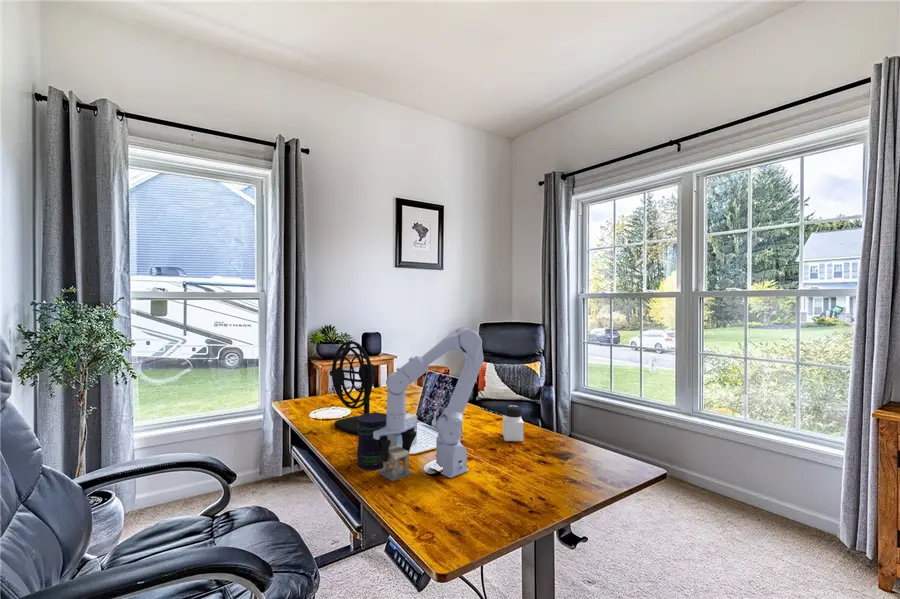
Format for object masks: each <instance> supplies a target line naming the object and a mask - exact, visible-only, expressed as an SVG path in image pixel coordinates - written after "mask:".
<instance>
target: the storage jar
mask: <svg viewBox="0 0 900 599" xmlns="http://www.w3.org/2000/svg"><path fill="white" fill-rule="evenodd" d="M358 416H359V417H358V426H357V430H358V432H357V436H358V437H357V438H358V439H357V440H358V444H357V449H356V460H357V463H356V465H357V468H358V467H359V469H360V470H363V471H379V470H382V469H383V462H384V461H382V458H381V454H380V450H379V447H378V445H377V443H376V441H375V439H374V438H373V432H374V431H377V430H380V429H382V428H384V427H386V419H387V413H381V412H369V413H366V414H364V413H363V414H360V415H358ZM386 438H387V439H388V436H387V437H386Z"/></svg>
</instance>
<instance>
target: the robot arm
mask: <svg viewBox="0 0 900 599" xmlns="http://www.w3.org/2000/svg"><path fill="white" fill-rule="evenodd" d="M482 345H483V340H482V338H481V336H480V334H479V333H478V332H477V330H474V329H471V328H468V327H464V326H461V327H458V328H456V329H455V331H453V332H450V333H449V334H447V335H446V336H445V337H444V338H443V339H442V340H440V341H439V342H438V343H437V344H436V345H434V346H433V347H431V349H429V350H428V351H427V352H425V354H423V355H422V356H420V355H419V356H418V355H417V356H416V355H415V356H414V357H413V356H410V357H409V358H408V362H406V363H404V365H402V366H401V367H396V369H395V370H396V371H393V372H391V373H389V374H388V376H387V378H386V380H385V385H386V387H387V392H386V394H387V396H386V414H387V419H386V427H384V428H382V429H380V430H377V431H374V432H373V438H374V439H375V441H376V443H377V445H378V447H379V450H380V454H381V458H382V461H384V462H388V450H389V445H390V442H391V441H390V440H388V439H387V438H386V437H387V436H390V435H394V434H398V433H401V435H402V443H403V449H405V450H407V451H409V452H411V451H410V450H411V448H412V447H411V445H412V442H413V440H414V438H415V437H416V432H415V431H414V430H417V431H418V422H417V423H414V422H411V423H406V413H407V407H406V405H407V403H406V402H407V397H406V391H407V389H408V387H409V385H411V384H412V383H414V382H415V381H416V380H418V379H419V378H420V377H421V376H423V375H424V374H425V373H427V372H428V368H429V365H430V364H432V363H434V362H435V361H436V360H438V359H439V358H441V357H442V356H444V355H445V354H446V353H448V352H450V351H461V353H463V356H464V358H465V362H464V365H463V367H462V369H461V373H460V375H459V378H458V380H457V382H456V385H455V388H454V390H453V392H452V395H451V398H450V400H449V403H448V405H447V407H446V408H444V409H443V411H442V414H441V415H440V416H439V417H438V418H437V419H436V422H435V429H436V431H437V432H438V434H437V437H436V443H435V444H436V446H435V447H436V448H435V452H436V453H435V454H436V455H435V456H436V457H435V464H436V463H437V464H438V465H439V466H440V467H443V469H444V470H443V472H441V473H440V474H441V475H443V476H445V477H447V478H450V479H451V478H454V477H457V476H460V475H461V474H464V473H466V472H469V470H470V469H469V468H467V467H468V466H467V465H468V450H467V448H466V446H465V445H463V444H462V443H461V441H460V440H461V437H462V426H463V423H464V412H465V410H466V407H467V404H468V402H469V400H470V397H471V394H472V391H473V388H474V386H475V384H476V382H477V379H478V376H479V373H480V371H481V369H482V367H483V363H484V360H485V359H484V358H485V357H484V352H483V351H484V349H483V346H482Z"/></svg>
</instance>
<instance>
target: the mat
mask: <svg viewBox="0 0 900 599" xmlns="http://www.w3.org/2000/svg"><path fill="white" fill-rule="evenodd" d="M392 471H393V466H392V465H390V466H389V472H386V473H385V472H384V471H383V468H382V469H379V470H376V472H377V473H378V474H380V475H381V476H383V478H386V479H388V480H389V481H391V482H395V481H398V480H400V479H403V478H406V477H409V476H412V475H414V472H413V471H411V470H409V473H408V474H404V473H403V465H402V466H401V465H400V464H399V468H398V477H396V478H394V477H392Z"/></svg>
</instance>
